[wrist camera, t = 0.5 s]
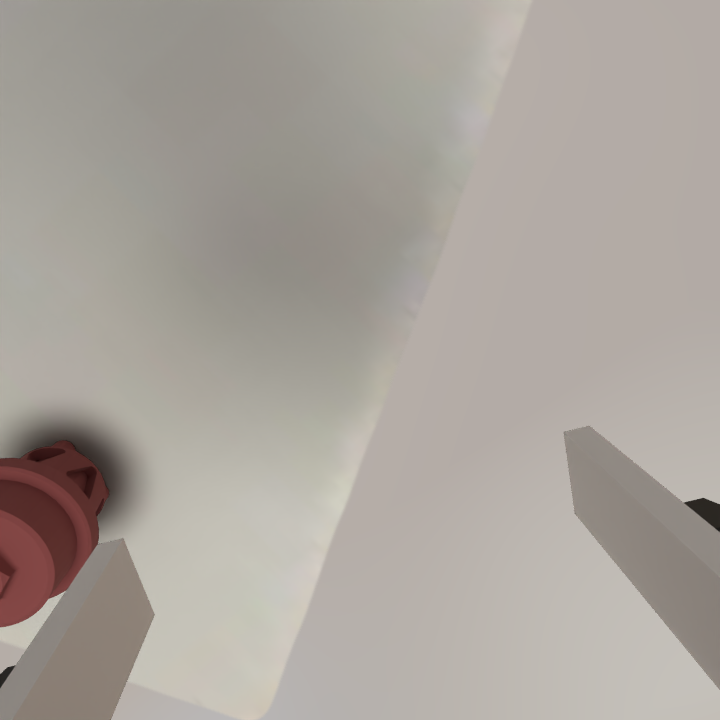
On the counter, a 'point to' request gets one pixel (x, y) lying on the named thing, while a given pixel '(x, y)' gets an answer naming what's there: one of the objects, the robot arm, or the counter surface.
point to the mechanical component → (45, 525)
